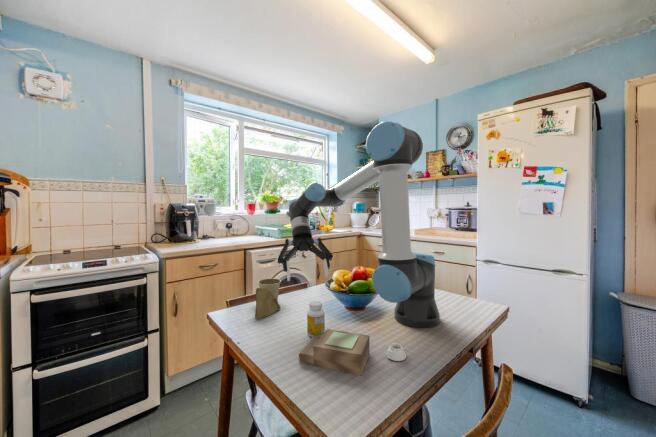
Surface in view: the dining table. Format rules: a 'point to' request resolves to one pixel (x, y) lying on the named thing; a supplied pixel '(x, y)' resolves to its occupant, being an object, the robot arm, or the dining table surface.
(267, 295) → the rock
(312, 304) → the supplement bottle
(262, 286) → the flower pot
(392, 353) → the lidless jar
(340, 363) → the step stand
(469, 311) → the dining table surface
